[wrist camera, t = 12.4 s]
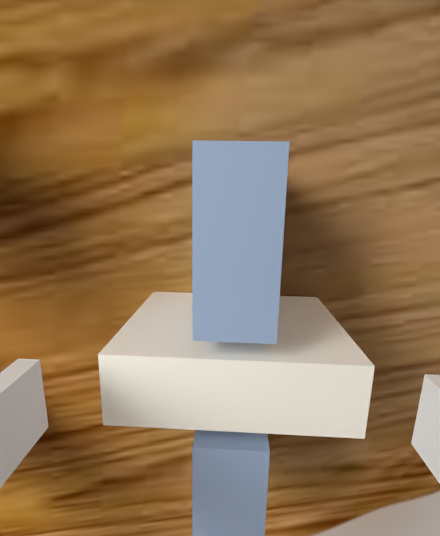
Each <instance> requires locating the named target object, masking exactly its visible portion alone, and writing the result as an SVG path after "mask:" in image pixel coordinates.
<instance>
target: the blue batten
mask: <svg viewBox="0 0 440 536" xmlns="http://www.w3.org/2000/svg"><path fill="white" fill-rule="evenodd" d="M288 158H289V142H277V141H193V341H210V342H235V343H261V344H277V331H278V316H279V300H280V284H281V268H282V252H283V237H284V221H285V205H286V189H287V173H288ZM269 458H270V449H269V442H268V434H265V433H246V432H227V431H208V430H196V431H195V436H194V442H193V536H265V521H266V505H267V489H268V474H269Z"/></svg>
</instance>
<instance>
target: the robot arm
mask: <svg viewBox="0 0 440 536" xmlns="http://www.w3.org/2000/svg"><path fill="white" fill-rule="evenodd" d="M48 427H49V426H48V419H47V411H46V404H45V396H44V388H43V381H42V373H41V366H40V360H38V359H17V360H16V361H15V362H13V363H12V364H11V365H10V366H8V367H7V368H6V369H4V370H3V371H2V372H0V488H1V487H2V485H3V484H4V483H5V482H6V480H7V479H8V478H9V476H10V475H11V474H12V473H13V471H14V470H15V469H16V468H17V466H18V465H19V464H20V463H21V461H22V460H23V459H24V457H25V456H26V455H27V454H28V452H29V451H30V450H31V449H32V447H33V446H34V445H35V444H36V442H37V441H38V440H39V438H40V437H41V436H42V435H43V433H44V432H45V431H46V430H47V428H48ZM411 444H412V445H413V447H414V448H415V450H416V451H417V452H418V454H419V455H420V457H421V458H422V460H423V461H424V462H425V464H426V465H427V467H428V468H429V469H430V471H431V472H432V474H433V475H434V476H435V478H436V479H437V481H438V482H439V483H440V375H428V374H425V376H424V381H423V386H422V391H421V396H420V401H419V406H418V412H417V417H416V422H415V427H414V432H413V437H412V442H411Z"/></svg>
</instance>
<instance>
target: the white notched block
mask: <svg viewBox="0 0 440 536" xmlns="http://www.w3.org/2000/svg"><path fill="white" fill-rule="evenodd" d="M98 361H99V375H100V389H101V403H102V417H103V425H113V426H132V427H151V428H170V429H189V430H208V431H227V432H246V433H265V434H284V435H303V436H322V437H341V438H360V439H365V433H366V426H367V419H368V411H369V404H370V397H371V390H372V383H373V376H374V368H375V366H374V365H373V363H372V362H371V361H370V360H369V359H368V357H367V356H366V355H365V354H364V353H363V351H362V350H361V349H360V348H359V347H358V345H357V344H356V343H355V342H354V341H353V339H352V338H351V337H350V336H349V335H348V333H347V332H346V331H345V330H344V329H343V327H342V326H341V325H340V324H339V323H338V321H337V320H336V319H335V318H334V317H333V315H332V314H331V313H330V312H329V311H328V309H327V308H326V307H325V306H324V305H323V303H322V302H321V301H320V300H319V299H318V297H300V296H280V300H279V316H278V331H277V344H261V343H235V342H210V341H193V293H180V292H153V293H152V294H151V295H150V296H149V298H148V299H147V300H146V301H145V302H144V303H143V304H142V305H141V307H140V308H139V309H138V310H137V311H136V312H135V313H134V314H133V316H132V317H131V318H130V319H129V320H128V321H127V322H126V324H125V325H124V326H123V327H122V328H121V329H120V330H119V331H118V333H117V334H116V335H115V336H114V337H113V338H112V339H111V340H110V342H109V343H108V344H107V345H106V346H105V347H104V348H103V349H102V351H101V352H100V353H99V354H98Z"/></svg>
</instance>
